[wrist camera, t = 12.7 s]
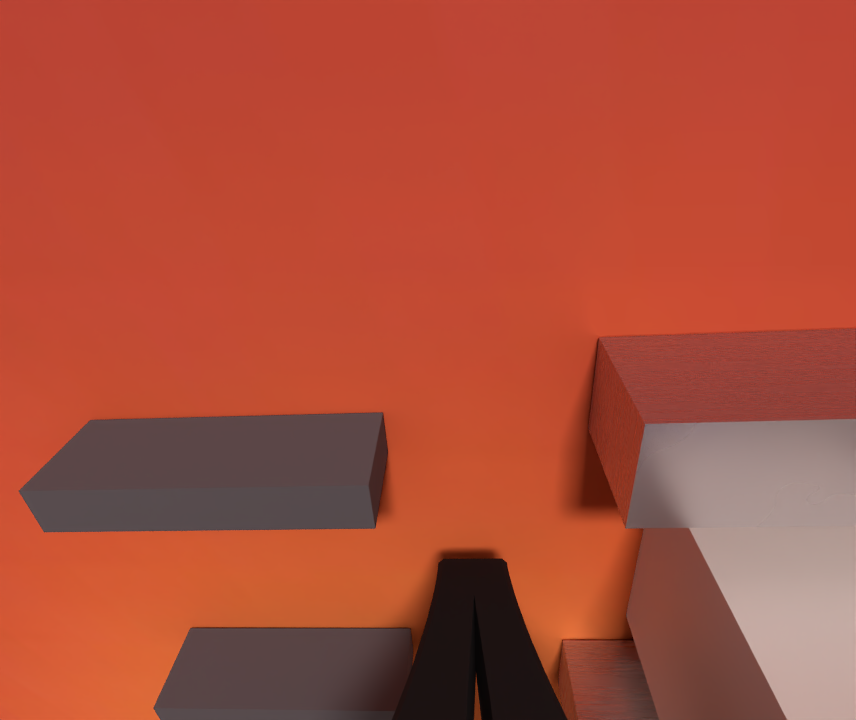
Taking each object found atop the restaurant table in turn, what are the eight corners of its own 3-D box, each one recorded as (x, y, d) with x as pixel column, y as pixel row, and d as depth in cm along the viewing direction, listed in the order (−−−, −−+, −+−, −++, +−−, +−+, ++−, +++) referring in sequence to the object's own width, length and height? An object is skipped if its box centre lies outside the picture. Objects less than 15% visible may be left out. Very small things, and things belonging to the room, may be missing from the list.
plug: (625, 614, 13) (741, 979, 8) (656, 463, 11) (854, 853, 5) (790, 613, 13) (1023, 991, 8) (861, 458, 10) (1282, 863, 5)
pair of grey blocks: (200, 649, 14) (166, 729, 13) (90, 419, 10) (18, 490, 9) (413, 650, 14) (407, 733, 12) (383, 412, 10) (368, 485, 8)
